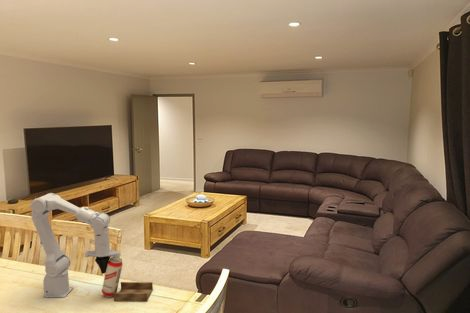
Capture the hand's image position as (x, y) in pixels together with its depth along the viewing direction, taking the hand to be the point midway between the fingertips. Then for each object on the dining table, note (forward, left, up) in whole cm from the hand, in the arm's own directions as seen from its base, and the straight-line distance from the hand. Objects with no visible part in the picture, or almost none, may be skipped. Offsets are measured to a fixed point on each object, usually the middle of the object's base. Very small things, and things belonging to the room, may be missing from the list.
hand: (104, 272), depth 153 cm
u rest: (+12, 0, -10) cm, 16 cm away
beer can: (+1, 0, -10) cm, 10 cm away
